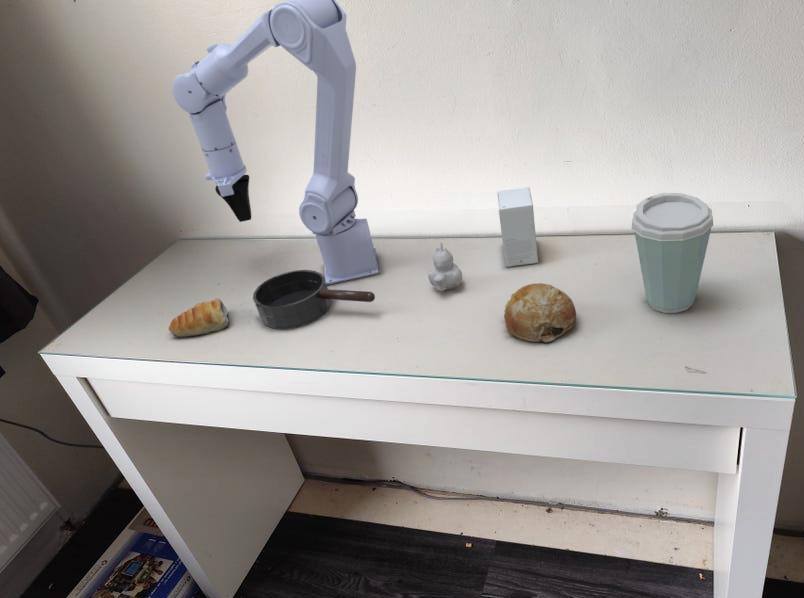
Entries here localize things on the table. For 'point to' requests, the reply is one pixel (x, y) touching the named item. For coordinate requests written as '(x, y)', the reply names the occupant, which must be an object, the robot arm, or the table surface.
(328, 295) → the pan handle
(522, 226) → the small box
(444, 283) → the grey figurine
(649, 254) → the disposable coffee cup
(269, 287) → the pan
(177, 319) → the pastry
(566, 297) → the bread roll
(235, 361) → the table surface
